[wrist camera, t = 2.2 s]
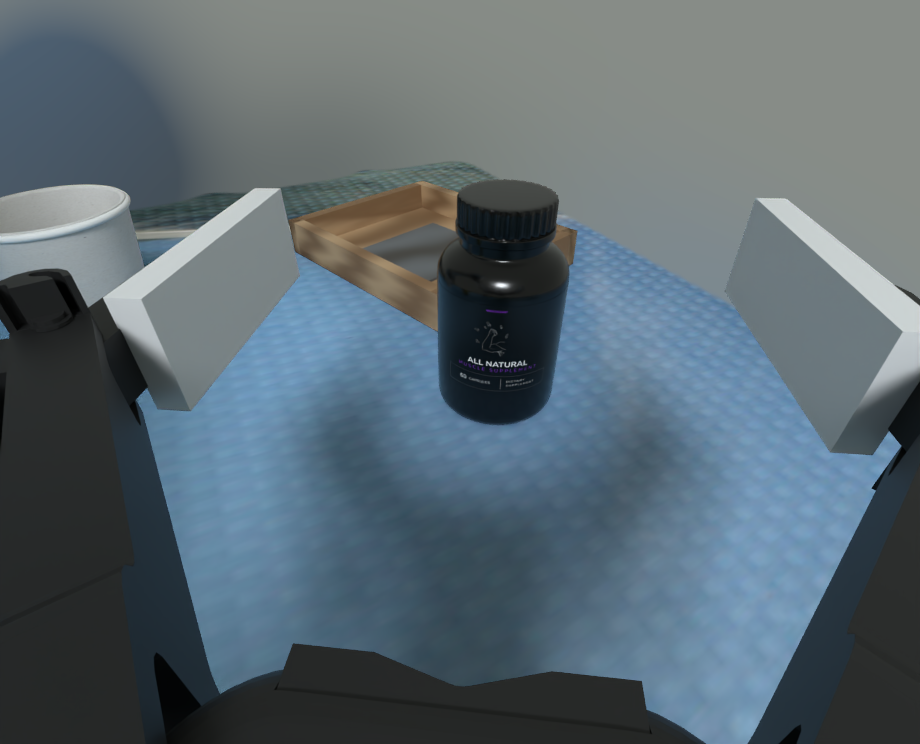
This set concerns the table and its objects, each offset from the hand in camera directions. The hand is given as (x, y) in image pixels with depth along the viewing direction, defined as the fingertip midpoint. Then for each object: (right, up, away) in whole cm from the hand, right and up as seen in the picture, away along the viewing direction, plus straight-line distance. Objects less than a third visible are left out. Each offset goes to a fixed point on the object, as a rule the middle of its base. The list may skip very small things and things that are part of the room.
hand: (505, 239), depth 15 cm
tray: (-4, +7, +32) cm, 32 cm away
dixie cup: (-25, -3, +20) cm, 32 cm away
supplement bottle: (+1, -5, +16) cm, 17 cm away
